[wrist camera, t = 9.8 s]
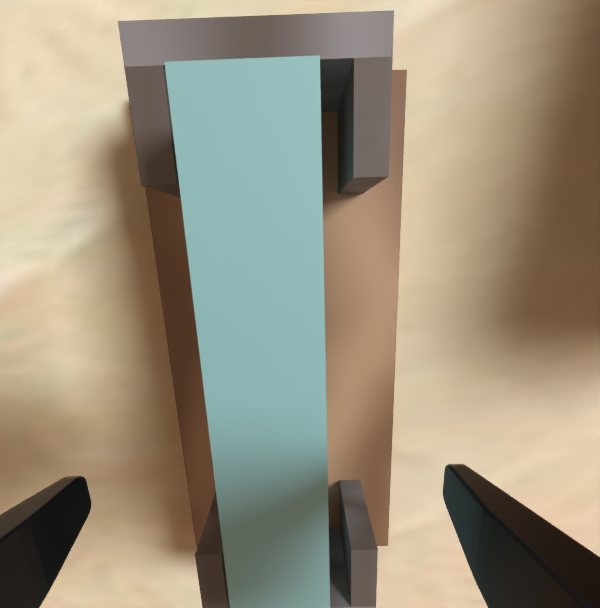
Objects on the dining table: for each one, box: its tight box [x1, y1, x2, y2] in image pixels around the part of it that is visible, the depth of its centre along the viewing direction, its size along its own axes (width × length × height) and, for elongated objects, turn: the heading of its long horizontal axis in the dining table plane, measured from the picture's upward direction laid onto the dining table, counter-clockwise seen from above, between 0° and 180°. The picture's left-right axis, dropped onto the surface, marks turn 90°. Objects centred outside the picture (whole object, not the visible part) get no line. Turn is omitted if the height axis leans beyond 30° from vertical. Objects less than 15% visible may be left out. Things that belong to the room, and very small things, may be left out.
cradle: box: [118, 11, 407, 608], centre depth 14 cm, size 12×26×5 cm, turn 2°
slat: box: [165, 55, 330, 608], centre depth 12 cm, size 4×20×7 cm, turn 2°
